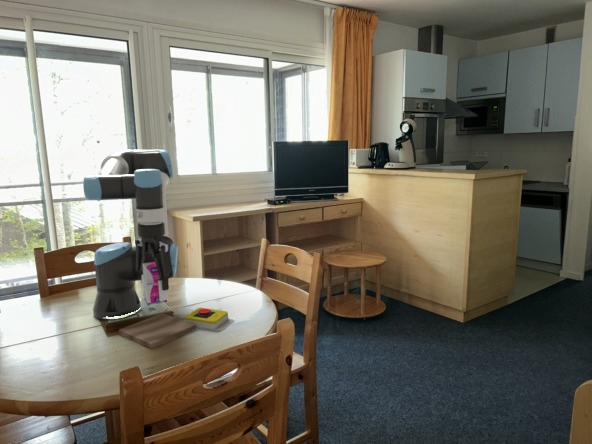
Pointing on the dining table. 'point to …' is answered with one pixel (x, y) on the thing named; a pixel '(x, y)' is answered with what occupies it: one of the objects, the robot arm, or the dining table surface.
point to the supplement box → (151, 283)
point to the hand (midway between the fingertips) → (155, 297)
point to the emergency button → (209, 319)
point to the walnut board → (157, 330)
